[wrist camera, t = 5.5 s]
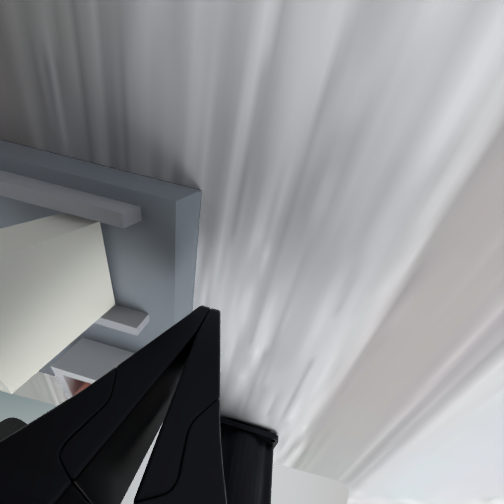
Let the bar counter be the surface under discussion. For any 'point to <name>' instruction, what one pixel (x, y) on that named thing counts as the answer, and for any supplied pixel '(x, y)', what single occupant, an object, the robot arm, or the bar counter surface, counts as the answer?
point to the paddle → (48, 291)
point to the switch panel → (111, 249)
